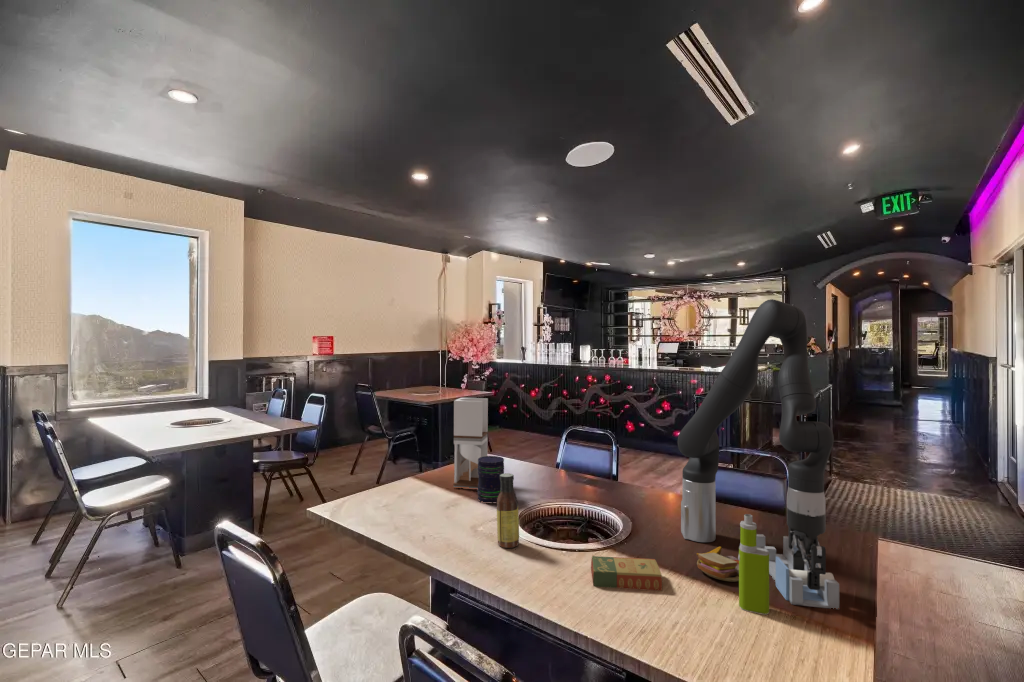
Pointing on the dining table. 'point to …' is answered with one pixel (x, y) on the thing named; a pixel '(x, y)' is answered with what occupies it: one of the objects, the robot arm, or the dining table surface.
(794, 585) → the white peg rack
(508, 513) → the sauce bottle
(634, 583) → the carton
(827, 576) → the cream cylindrical rod
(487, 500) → the storage jar
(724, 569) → the toy sandwich meal
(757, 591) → the vape
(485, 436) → the white boxy tower
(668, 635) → the dining table surface
